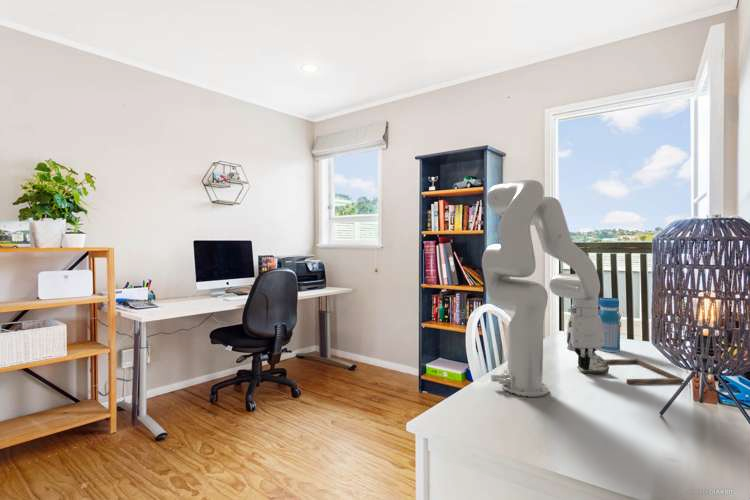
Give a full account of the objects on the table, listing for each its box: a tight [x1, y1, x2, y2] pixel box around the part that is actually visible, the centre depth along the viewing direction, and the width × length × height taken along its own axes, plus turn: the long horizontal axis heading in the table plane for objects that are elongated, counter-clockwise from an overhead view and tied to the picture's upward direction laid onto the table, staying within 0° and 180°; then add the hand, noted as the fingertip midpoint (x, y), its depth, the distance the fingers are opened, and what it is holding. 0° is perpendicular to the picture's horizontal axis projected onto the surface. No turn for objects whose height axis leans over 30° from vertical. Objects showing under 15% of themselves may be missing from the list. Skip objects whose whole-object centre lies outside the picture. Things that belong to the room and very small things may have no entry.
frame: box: [604, 358, 685, 385], centre depth 133 cm, size 17×20×1 cm
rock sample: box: [576, 351, 610, 375], centre depth 133 cm, size 10×8×9 cm
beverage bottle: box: [598, 297, 622, 353], centre depth 159 cm, size 8×8×20 cm
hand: (583, 367), depth 132 cm, fingers closed
